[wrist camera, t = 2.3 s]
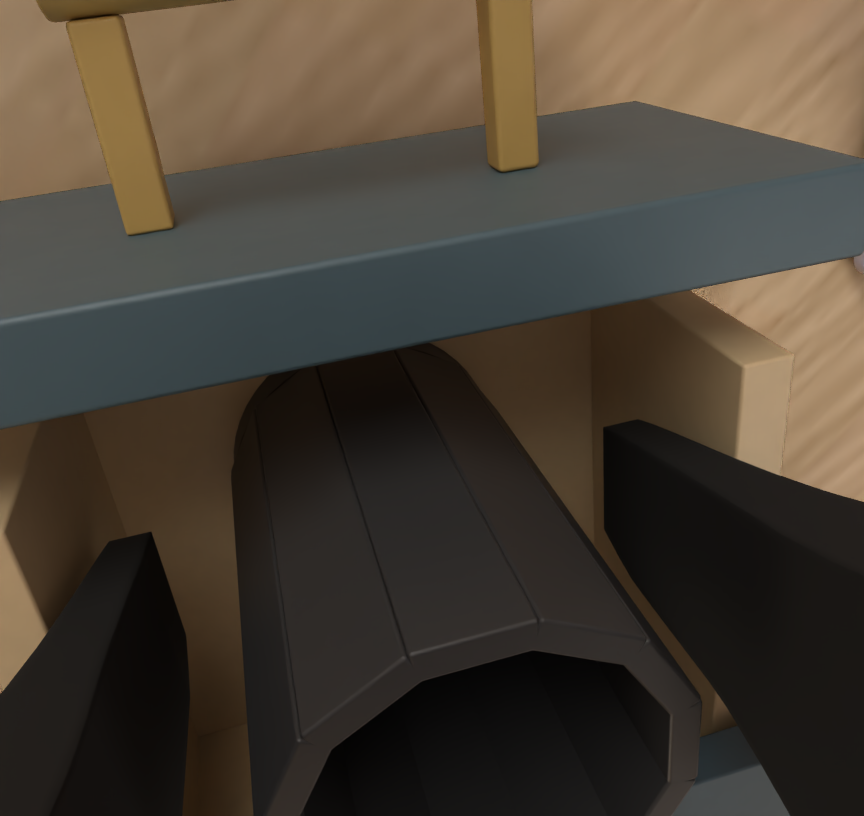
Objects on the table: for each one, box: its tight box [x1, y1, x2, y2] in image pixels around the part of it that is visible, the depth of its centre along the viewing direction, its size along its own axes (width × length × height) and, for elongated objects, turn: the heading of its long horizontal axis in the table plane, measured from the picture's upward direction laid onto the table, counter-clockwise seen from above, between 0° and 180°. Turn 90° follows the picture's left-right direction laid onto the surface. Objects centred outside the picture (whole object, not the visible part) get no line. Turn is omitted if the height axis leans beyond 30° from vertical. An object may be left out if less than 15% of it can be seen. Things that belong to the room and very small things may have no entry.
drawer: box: [0, 0, 864, 816], centre depth 14 cm, size 16×12×6 cm
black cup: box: [231, 343, 702, 816], centre depth 12 cm, size 5×5×8 cm
